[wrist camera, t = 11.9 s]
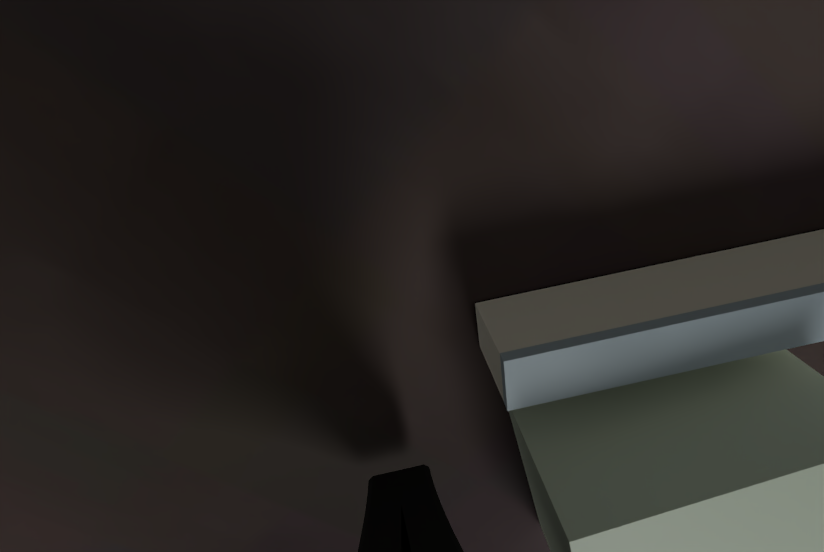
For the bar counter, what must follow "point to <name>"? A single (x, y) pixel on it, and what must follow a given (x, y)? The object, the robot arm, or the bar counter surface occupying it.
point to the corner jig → (654, 320)
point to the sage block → (683, 461)
